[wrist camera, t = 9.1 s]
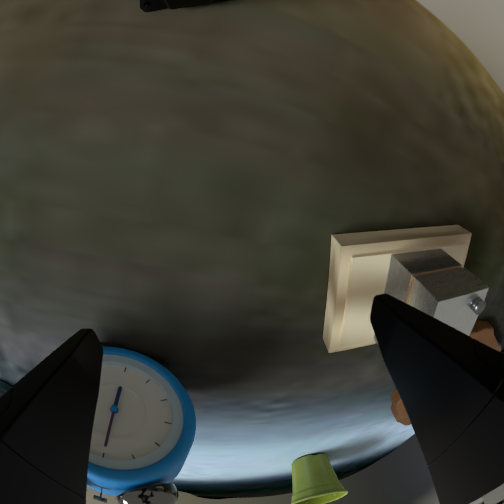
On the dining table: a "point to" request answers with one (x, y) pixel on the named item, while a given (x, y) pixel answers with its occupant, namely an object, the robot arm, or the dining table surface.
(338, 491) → the plant pot
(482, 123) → the dining table surface
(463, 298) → the box
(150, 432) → the alarm clock
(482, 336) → the plant
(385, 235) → the beige tray
